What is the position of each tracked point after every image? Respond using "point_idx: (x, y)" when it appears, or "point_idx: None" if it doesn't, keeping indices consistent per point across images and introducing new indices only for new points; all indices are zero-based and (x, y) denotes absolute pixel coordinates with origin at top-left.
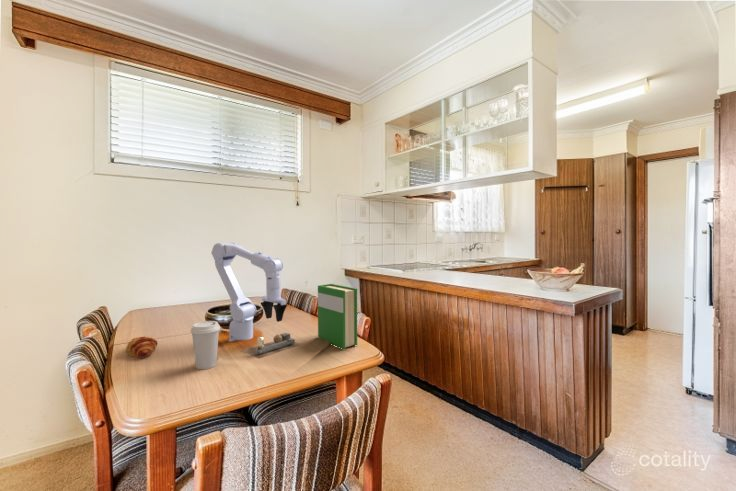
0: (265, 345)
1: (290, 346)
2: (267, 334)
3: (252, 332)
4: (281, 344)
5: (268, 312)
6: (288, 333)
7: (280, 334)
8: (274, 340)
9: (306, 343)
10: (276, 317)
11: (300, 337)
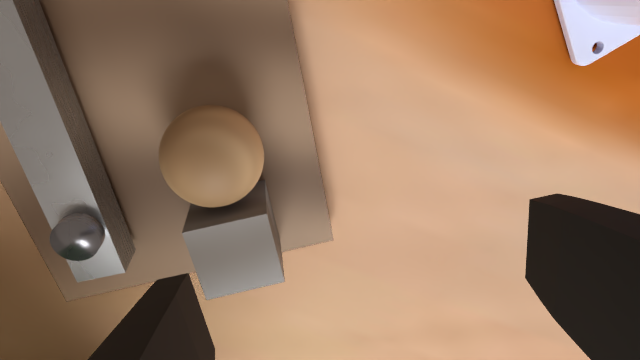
0: (231, 1)
1: None
2: (589, 179)
3: (632, 1)
4: (6, 117)
5: (630, 306)
6: (237, 291)
7: (259, 215)
8: (197, 107)
9: None
10: (137, 327)
11: (316, 350)
